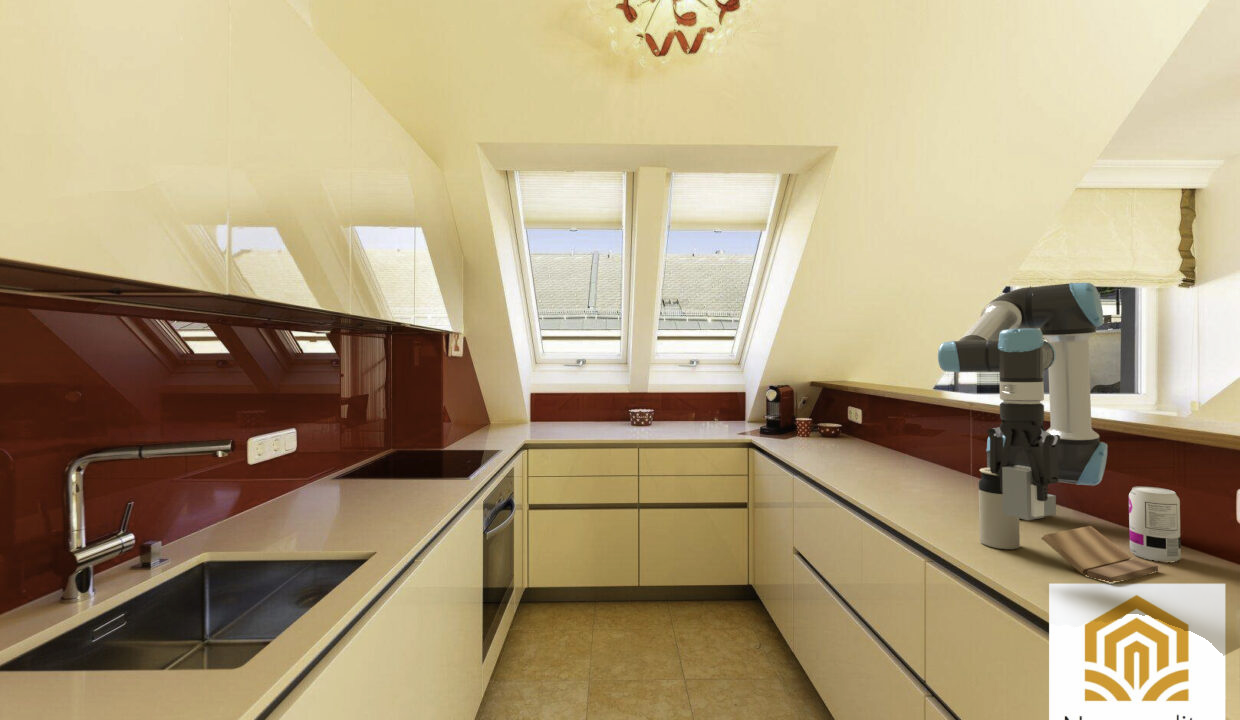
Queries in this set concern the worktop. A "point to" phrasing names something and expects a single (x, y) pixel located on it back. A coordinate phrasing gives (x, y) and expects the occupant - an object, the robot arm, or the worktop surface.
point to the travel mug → (995, 515)
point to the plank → (1085, 548)
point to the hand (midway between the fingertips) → (1023, 511)
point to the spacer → (1022, 493)
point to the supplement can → (1154, 524)
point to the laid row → (1122, 570)
